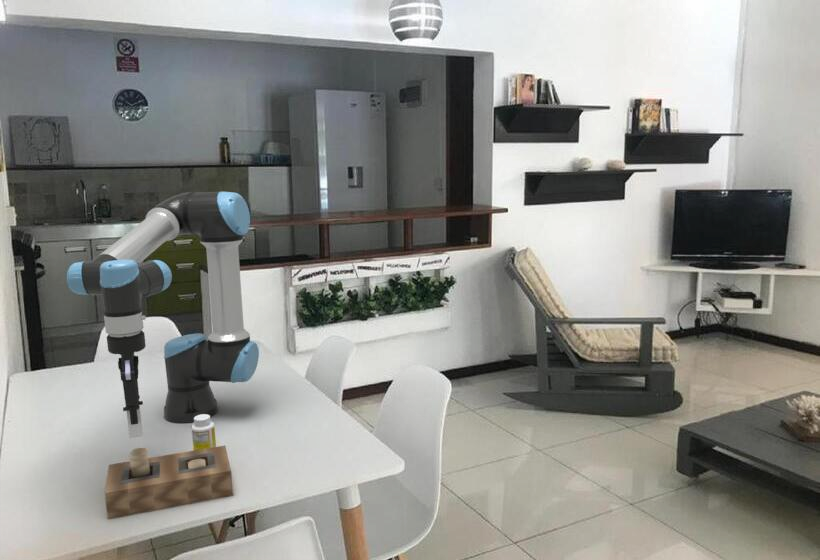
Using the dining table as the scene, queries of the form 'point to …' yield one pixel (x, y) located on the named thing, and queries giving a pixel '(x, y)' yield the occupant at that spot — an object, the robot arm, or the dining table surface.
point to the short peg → (196, 463)
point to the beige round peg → (139, 463)
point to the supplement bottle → (203, 432)
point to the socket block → (168, 482)
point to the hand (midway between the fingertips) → (136, 435)
